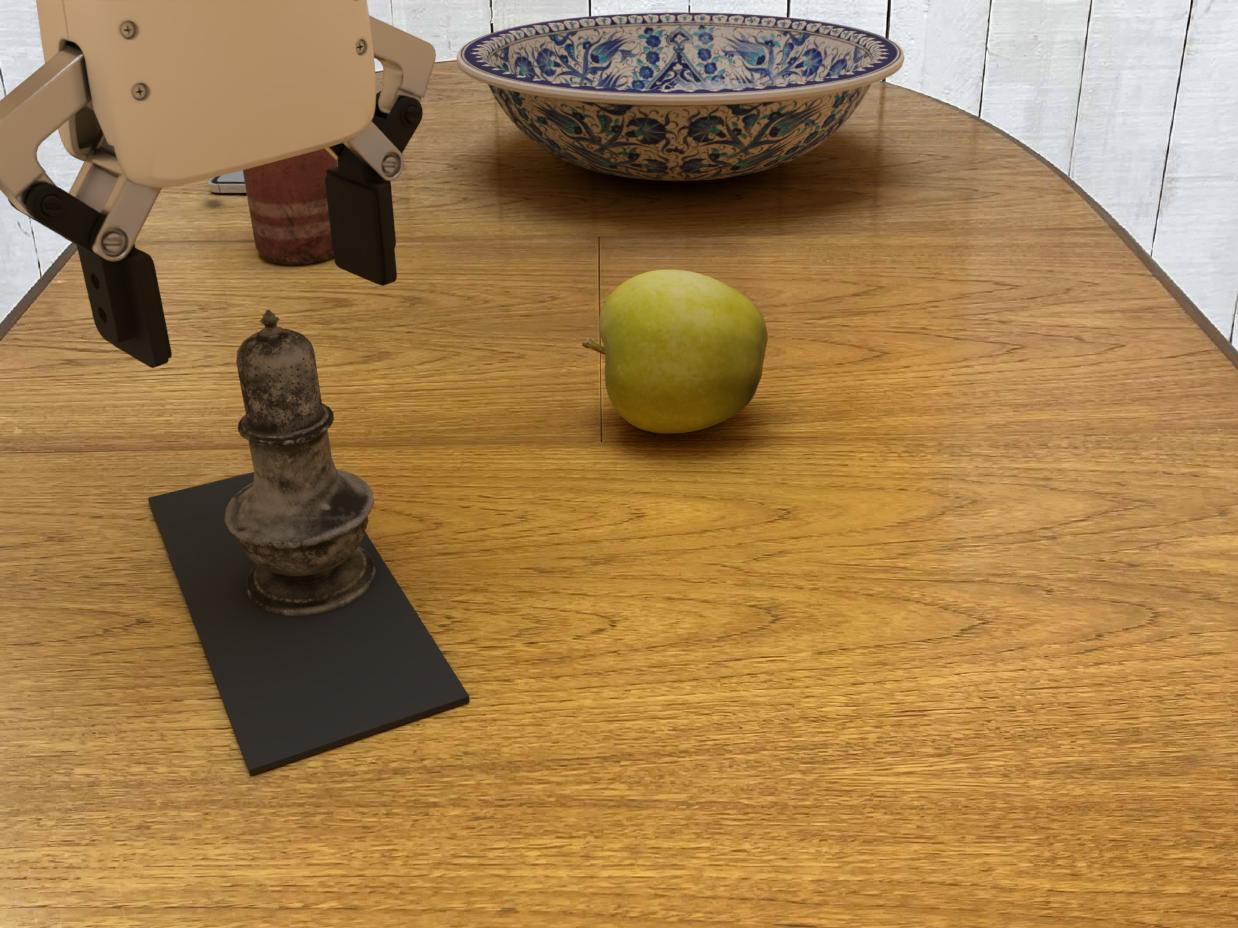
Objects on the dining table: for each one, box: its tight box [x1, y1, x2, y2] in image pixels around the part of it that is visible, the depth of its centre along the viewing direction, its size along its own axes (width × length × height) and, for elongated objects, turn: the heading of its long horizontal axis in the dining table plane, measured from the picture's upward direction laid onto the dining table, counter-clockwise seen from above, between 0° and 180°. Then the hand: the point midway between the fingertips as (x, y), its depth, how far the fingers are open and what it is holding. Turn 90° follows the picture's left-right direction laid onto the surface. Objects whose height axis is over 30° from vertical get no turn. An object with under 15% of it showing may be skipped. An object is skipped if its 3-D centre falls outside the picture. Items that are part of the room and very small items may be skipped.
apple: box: [581, 269, 769, 434], centre depth 62 cm, size 8×9×8 cm
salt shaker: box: [224, 309, 376, 616], centre depth 49 cm, size 6×6×12 cm
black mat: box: [147, 471, 471, 777], centre depth 52 cm, size 8×20×1 cm, turn 27°
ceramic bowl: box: [456, 11, 905, 182], centre depth 99 cm, size 34×34×10 cm
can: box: [243, 148, 338, 266], centre depth 83 cm, size 6×6×14 cm
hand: (260, 312), depth 46 cm, fingers open, 9 cm apart
